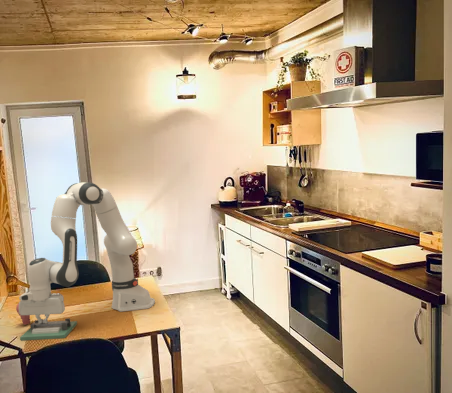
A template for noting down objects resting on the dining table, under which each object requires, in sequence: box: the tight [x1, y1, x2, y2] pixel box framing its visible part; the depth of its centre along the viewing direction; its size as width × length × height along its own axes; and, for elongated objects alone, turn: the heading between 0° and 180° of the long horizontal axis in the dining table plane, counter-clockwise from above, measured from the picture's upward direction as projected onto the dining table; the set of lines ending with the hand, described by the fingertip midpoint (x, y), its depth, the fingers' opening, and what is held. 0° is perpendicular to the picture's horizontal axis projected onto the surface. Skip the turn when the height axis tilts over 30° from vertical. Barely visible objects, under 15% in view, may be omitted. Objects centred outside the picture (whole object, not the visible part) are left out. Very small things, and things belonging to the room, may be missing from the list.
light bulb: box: [15, 302, 31, 326], centre depth 222 cm, size 7×7×12 cm
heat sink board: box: [19, 317, 78, 341], centre depth 211 cm, size 20×16×5 cm
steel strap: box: [30, 320, 69, 328], centre depth 211 cm, size 17×3×2 cm, turn 89°
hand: (43, 323), depth 211 cm, fingers closed, pressing on steel strap
